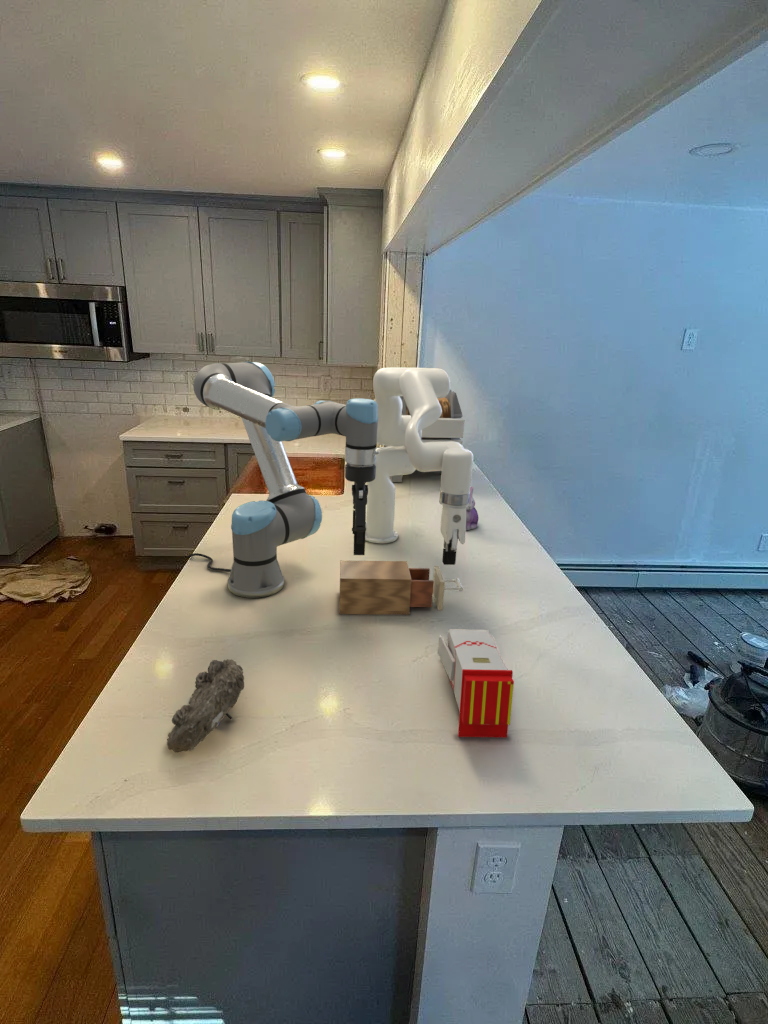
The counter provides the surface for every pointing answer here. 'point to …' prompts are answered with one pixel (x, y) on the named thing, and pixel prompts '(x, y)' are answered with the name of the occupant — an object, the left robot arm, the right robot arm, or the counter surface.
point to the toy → (478, 682)
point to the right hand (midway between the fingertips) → (448, 563)
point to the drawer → (429, 587)
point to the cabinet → (374, 587)
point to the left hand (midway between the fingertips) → (358, 543)
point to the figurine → (471, 513)
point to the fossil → (206, 705)
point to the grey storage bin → (440, 425)
